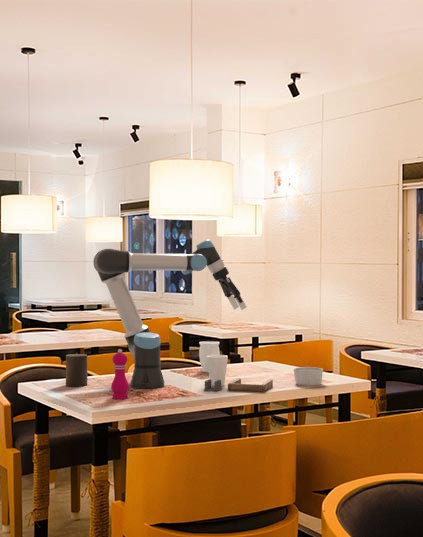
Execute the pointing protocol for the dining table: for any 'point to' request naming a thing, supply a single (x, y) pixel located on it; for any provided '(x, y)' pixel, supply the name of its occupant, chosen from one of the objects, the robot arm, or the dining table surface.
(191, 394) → the dining table surface
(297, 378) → the ramekin
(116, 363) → the pepper mill
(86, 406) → the dining table surface
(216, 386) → the clip
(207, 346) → the jar
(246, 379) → the dining table surface
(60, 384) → the dining table surface
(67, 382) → the pillar candle
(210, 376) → the foam cup
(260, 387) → the end holder
